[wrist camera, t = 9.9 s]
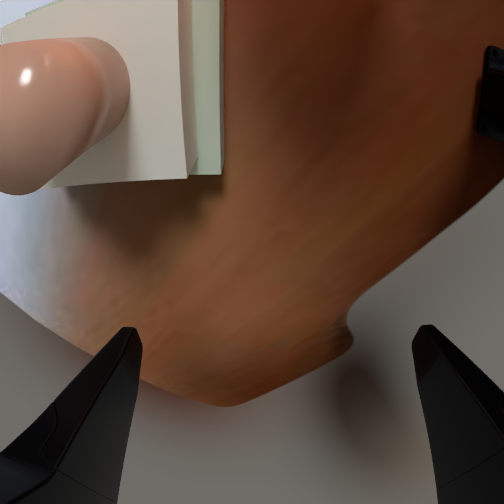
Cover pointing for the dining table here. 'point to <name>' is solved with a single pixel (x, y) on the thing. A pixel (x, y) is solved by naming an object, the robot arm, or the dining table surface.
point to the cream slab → (131, 85)
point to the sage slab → (205, 83)
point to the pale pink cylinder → (56, 105)
